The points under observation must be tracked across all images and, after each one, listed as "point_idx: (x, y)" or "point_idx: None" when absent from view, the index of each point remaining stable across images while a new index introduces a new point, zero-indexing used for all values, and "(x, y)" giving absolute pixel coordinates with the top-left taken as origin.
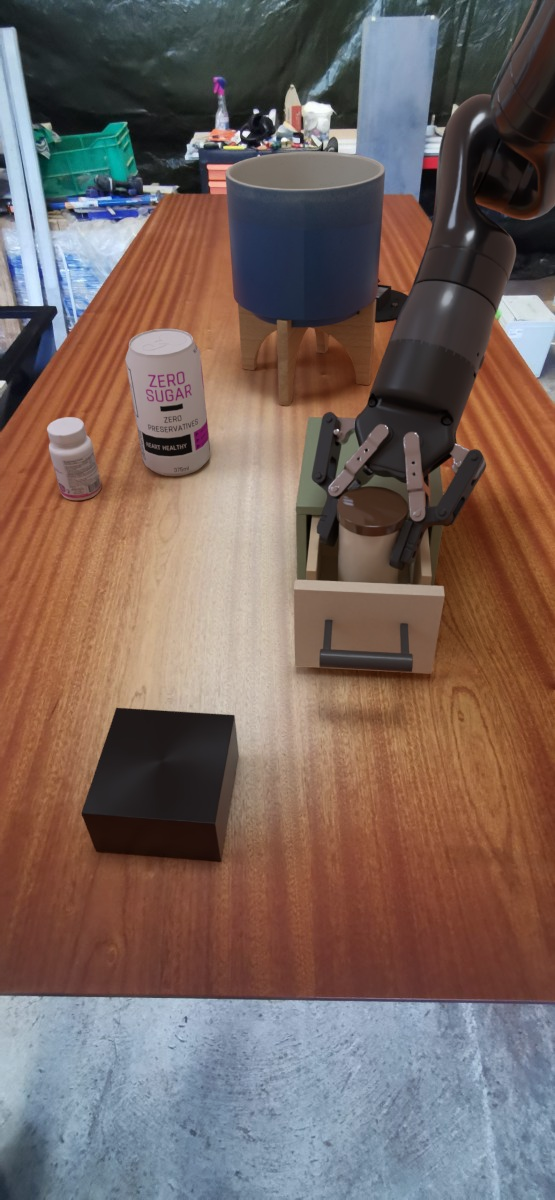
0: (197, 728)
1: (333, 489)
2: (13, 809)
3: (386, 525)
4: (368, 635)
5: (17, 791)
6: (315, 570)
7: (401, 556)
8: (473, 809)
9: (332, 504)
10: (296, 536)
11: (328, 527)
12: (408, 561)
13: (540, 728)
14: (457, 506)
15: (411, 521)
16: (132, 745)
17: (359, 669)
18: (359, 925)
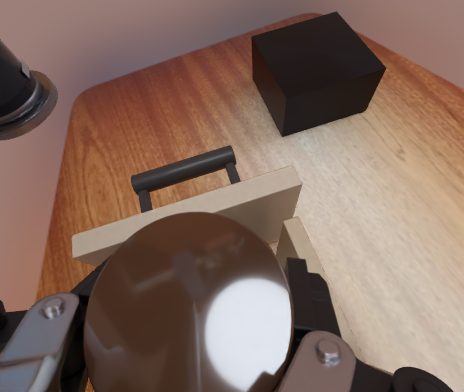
0: (307, 78)
1: (330, 342)
2: (395, 54)
3: (134, 233)
4: None
5: (405, 62)
6: (284, 221)
7: None
8: (106, 164)
9: (312, 314)
10: (391, 373)
11: (294, 272)
12: None
13: (48, 255)
14: None
15: (84, 305)
16: (344, 51)
17: None
18: (166, 82)
